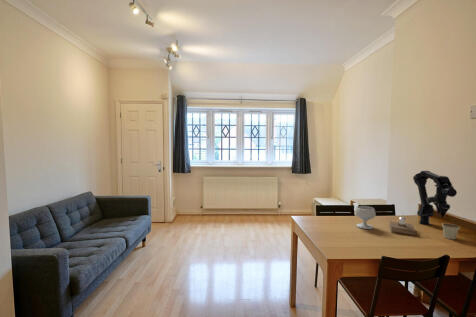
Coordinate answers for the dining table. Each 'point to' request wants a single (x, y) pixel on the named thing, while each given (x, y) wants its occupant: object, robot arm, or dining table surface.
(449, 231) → the flower pot
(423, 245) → the dining table surface
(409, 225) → the bore block
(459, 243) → the dining table surface
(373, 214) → the chalice
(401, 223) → the pin
